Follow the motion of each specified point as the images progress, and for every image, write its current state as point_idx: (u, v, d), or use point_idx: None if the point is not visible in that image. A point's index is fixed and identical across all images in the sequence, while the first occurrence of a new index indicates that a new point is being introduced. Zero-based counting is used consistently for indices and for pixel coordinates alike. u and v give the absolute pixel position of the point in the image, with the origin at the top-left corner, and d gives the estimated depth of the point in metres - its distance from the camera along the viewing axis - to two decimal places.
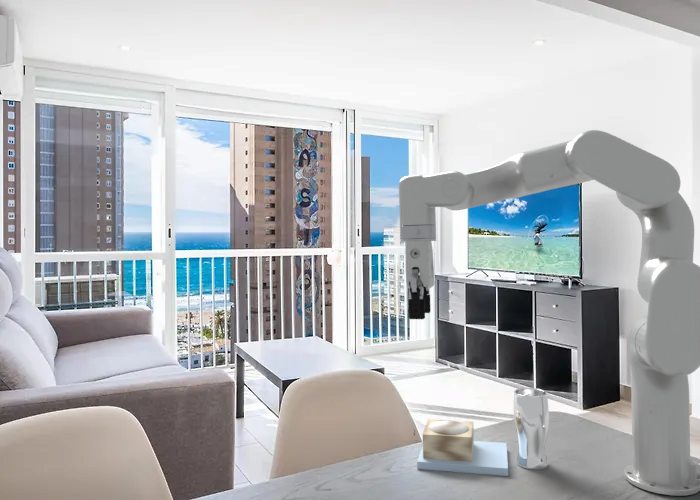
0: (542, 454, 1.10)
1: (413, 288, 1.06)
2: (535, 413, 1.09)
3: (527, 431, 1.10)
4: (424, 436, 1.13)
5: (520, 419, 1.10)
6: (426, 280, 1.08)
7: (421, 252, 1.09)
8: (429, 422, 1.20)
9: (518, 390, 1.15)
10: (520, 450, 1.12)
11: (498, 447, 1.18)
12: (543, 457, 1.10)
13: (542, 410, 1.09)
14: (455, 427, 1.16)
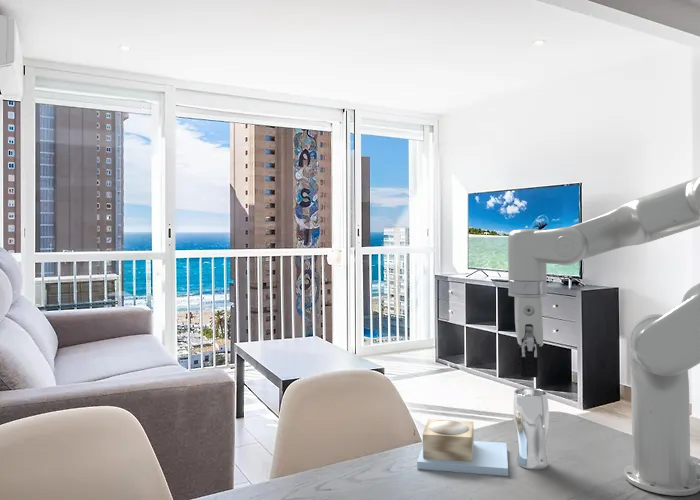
0: (542, 454, 1.10)
1: (529, 347, 1.05)
2: (535, 413, 1.09)
3: (527, 431, 1.10)
4: (424, 436, 1.13)
5: (520, 419, 1.10)
6: (540, 338, 1.07)
7: (535, 309, 1.07)
8: (429, 422, 1.20)
9: (518, 390, 1.15)
10: (520, 450, 1.12)
11: (498, 447, 1.18)
12: (543, 457, 1.10)
13: (542, 410, 1.09)
14: (455, 427, 1.16)
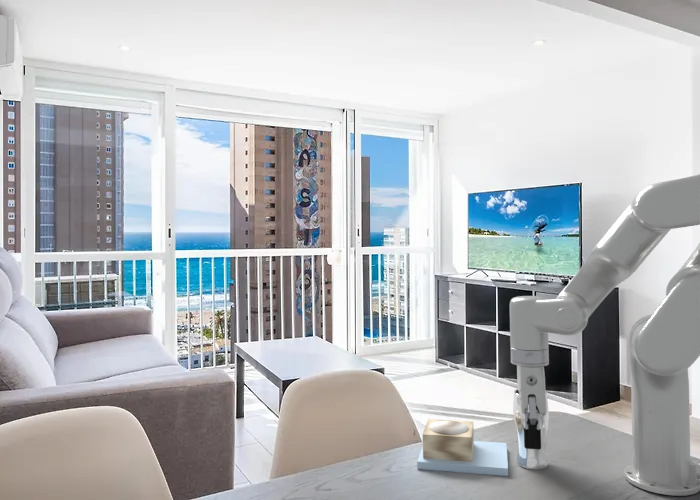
0: (542, 454, 1.10)
1: (532, 422, 1.06)
2: None
3: None
4: (424, 436, 1.13)
5: (520, 419, 1.10)
6: (543, 408, 1.07)
7: (538, 379, 1.07)
8: (429, 422, 1.20)
9: None
10: (520, 450, 1.12)
11: (498, 447, 1.18)
12: (543, 457, 1.10)
13: None
14: (455, 427, 1.16)
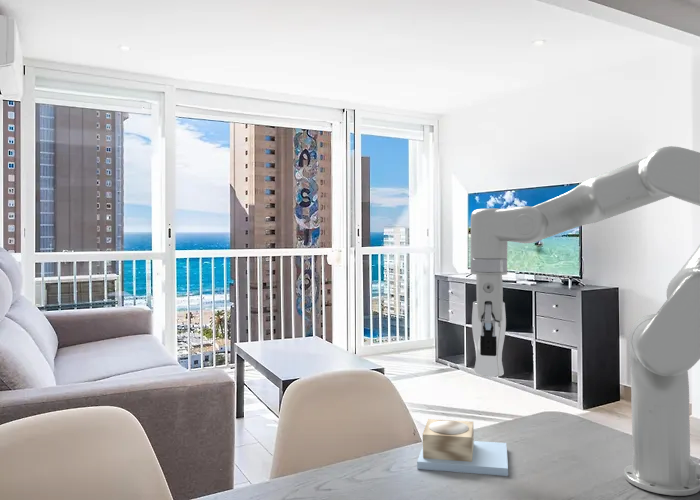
0: (498, 362, 1.12)
1: (487, 327, 1.08)
2: (491, 320, 1.11)
3: None
4: (424, 436, 1.13)
5: (477, 327, 1.12)
6: (499, 314, 1.09)
7: (494, 286, 1.09)
8: (429, 422, 1.20)
9: None
10: (477, 359, 1.14)
11: (498, 447, 1.18)
12: (499, 365, 1.12)
13: None
14: (455, 427, 1.16)
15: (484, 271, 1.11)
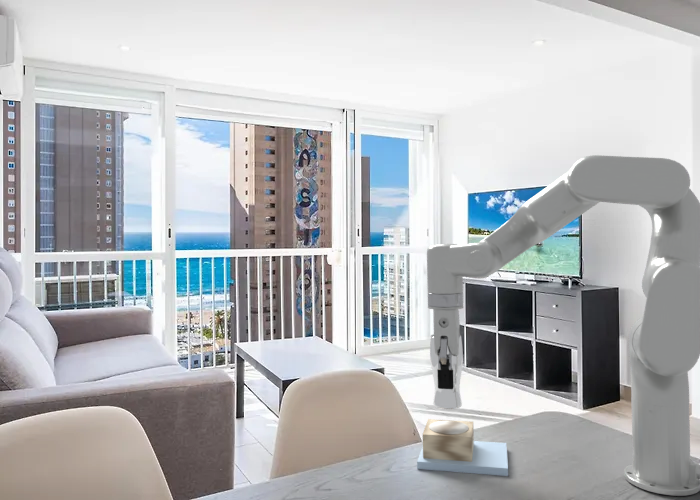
0: (455, 394, 1.14)
1: (443, 362, 1.10)
2: (447, 354, 1.13)
3: None
4: (424, 436, 1.13)
5: (434, 361, 1.14)
6: (454, 349, 1.11)
7: (449, 321, 1.11)
8: (429, 422, 1.20)
9: None
10: (435, 391, 1.16)
11: (498, 447, 1.18)
12: (456, 397, 1.14)
13: None
14: (455, 427, 1.16)
15: (440, 306, 1.13)
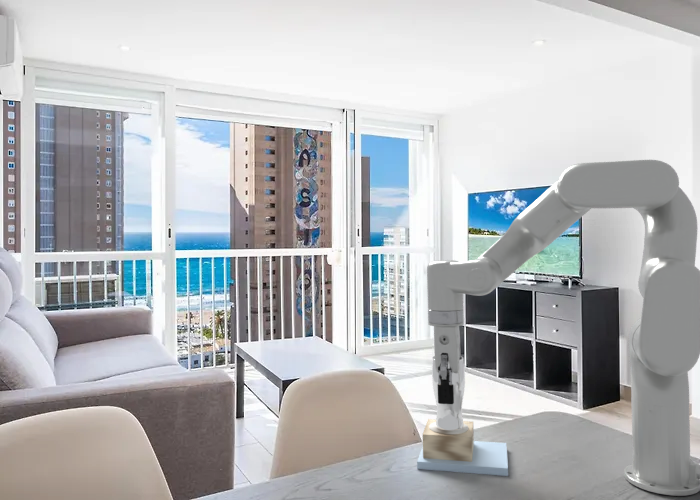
0: (457, 417, 1.14)
1: (443, 376, 1.09)
2: None
3: None
4: (424, 436, 1.13)
5: (436, 383, 1.14)
6: (455, 366, 1.11)
7: (450, 338, 1.11)
8: (429, 422, 1.20)
9: None
10: (437, 413, 1.16)
11: (498, 447, 1.18)
12: (458, 419, 1.14)
13: (457, 374, 1.13)
14: None
15: (440, 323, 1.13)
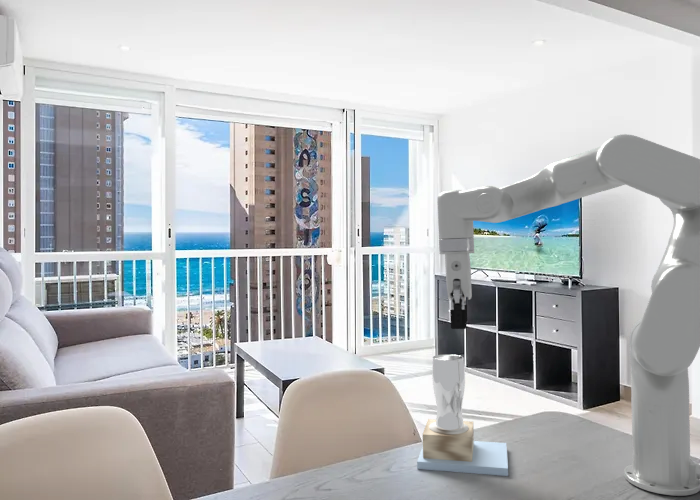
0: (458, 416, 1.14)
1: (456, 299, 1.11)
2: (450, 376, 1.13)
3: (443, 394, 1.14)
4: (424, 436, 1.13)
5: (437, 382, 1.15)
6: (467, 291, 1.13)
7: (462, 264, 1.13)
8: (429, 422, 1.20)
9: (438, 356, 1.19)
10: (438, 413, 1.16)
11: (498, 447, 1.18)
12: (459, 419, 1.14)
13: (457, 373, 1.13)
14: None
15: (452, 250, 1.15)
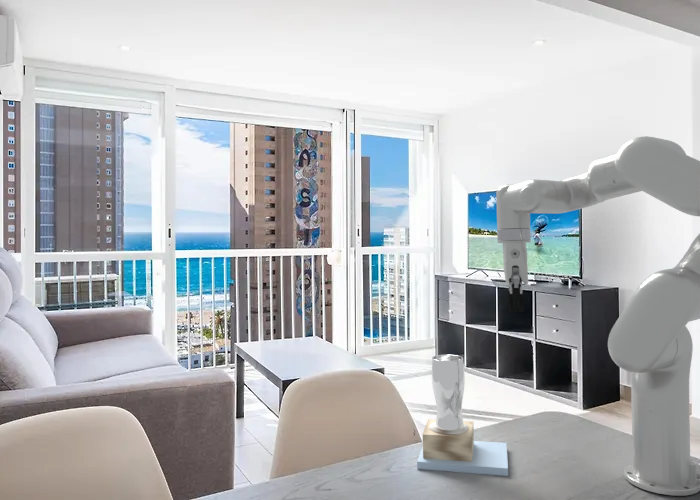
0: (457, 416, 1.14)
1: (515, 284, 1.20)
2: (449, 376, 1.13)
3: (442, 395, 1.14)
4: (424, 436, 1.13)
5: (436, 383, 1.14)
6: (525, 277, 1.23)
7: (520, 252, 1.23)
8: (429, 422, 1.20)
9: (437, 356, 1.19)
10: (437, 414, 1.16)
11: (498, 447, 1.18)
12: (458, 419, 1.14)
13: (456, 374, 1.13)
14: None
15: (510, 239, 1.24)
